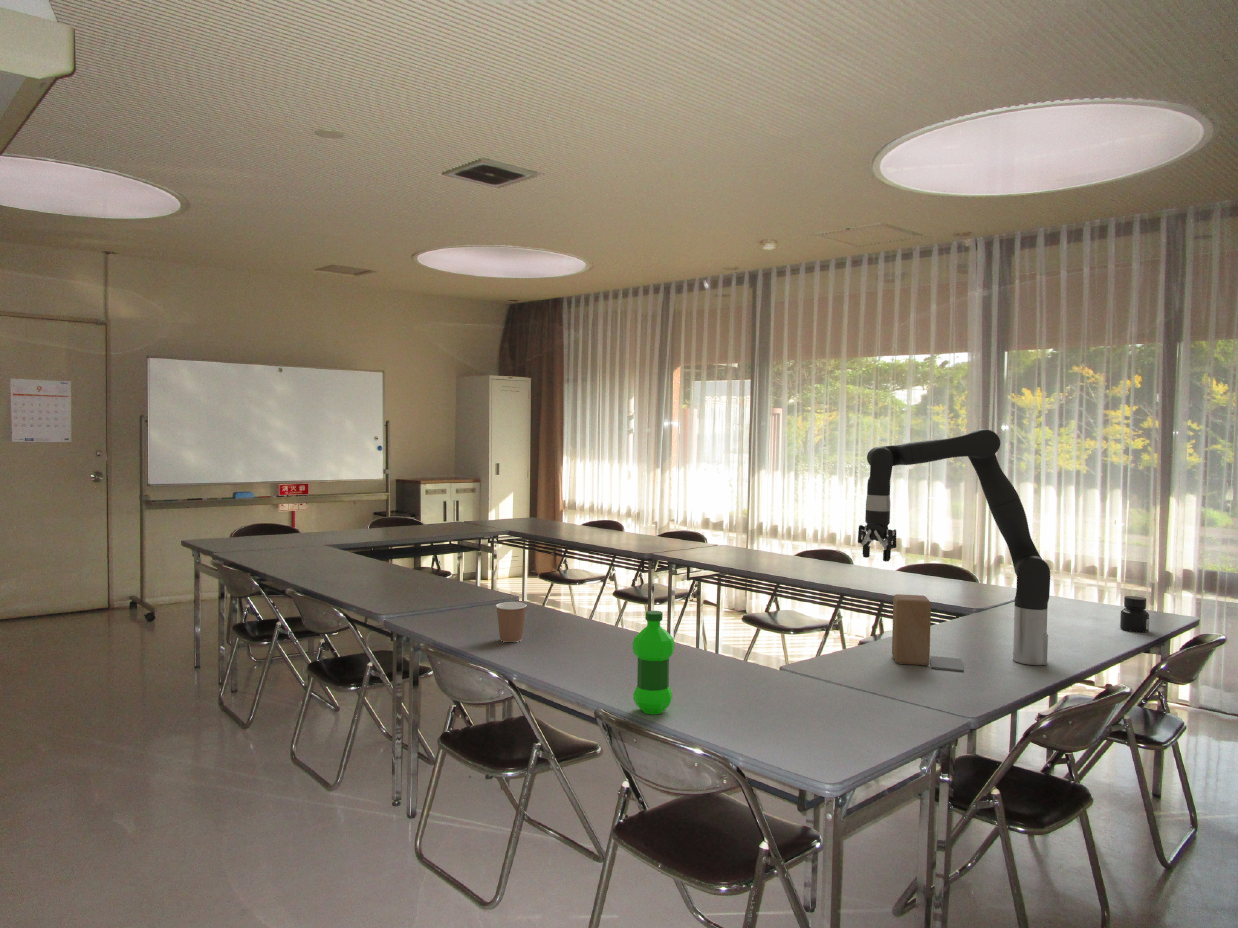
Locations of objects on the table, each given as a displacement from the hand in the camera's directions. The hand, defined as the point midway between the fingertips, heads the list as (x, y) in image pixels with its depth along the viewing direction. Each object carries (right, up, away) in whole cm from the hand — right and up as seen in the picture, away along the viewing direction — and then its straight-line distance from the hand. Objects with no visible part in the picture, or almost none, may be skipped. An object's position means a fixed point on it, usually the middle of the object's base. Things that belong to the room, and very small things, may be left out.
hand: (876, 559), depth 264 cm
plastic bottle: (-74, -32, -57) cm, 99 cm away
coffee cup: (-119, -29, +11) cm, 123 cm away
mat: (+18, -31, -12) cm, 38 cm away
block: (+8, -31, -9) cm, 33 cm away
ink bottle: (+106, -30, +36) cm, 116 cm away
